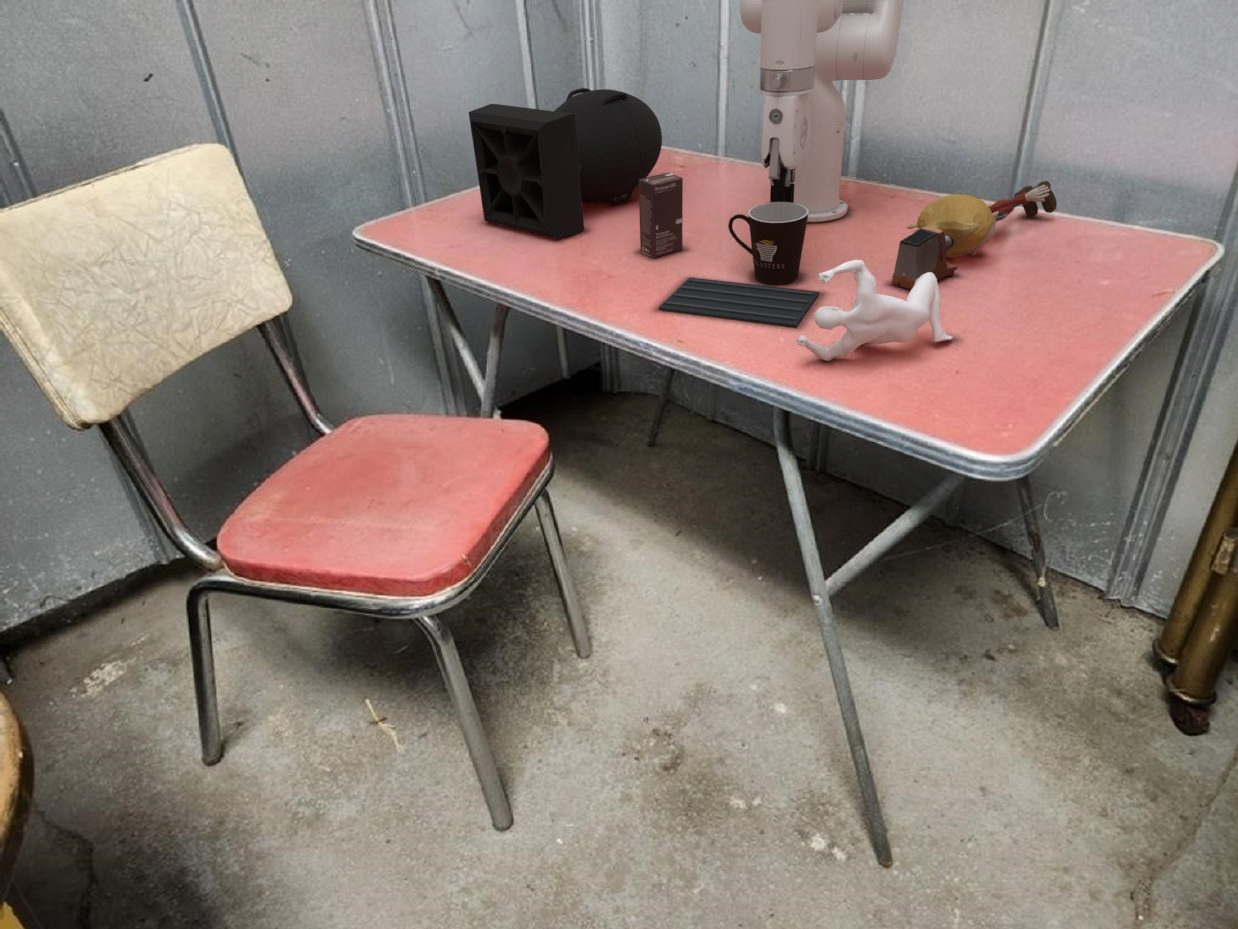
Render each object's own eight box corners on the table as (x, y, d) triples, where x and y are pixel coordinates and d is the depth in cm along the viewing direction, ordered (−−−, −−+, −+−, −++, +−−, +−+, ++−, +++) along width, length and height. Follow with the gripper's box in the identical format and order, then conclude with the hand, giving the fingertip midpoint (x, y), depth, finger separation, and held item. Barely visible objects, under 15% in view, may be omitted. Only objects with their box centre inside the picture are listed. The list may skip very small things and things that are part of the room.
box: (655, 259, 141) (652, 184, 135) (639, 252, 145) (636, 178, 138) (685, 250, 144) (683, 176, 138) (669, 243, 147) (667, 171, 141)
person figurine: (892, 237, 112) (823, 255, 99) (983, 278, 106) (922, 302, 93) (855, 328, 119) (786, 355, 106) (938, 371, 113) (876, 405, 100)
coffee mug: (817, 278, 130) (821, 212, 124) (771, 293, 127) (773, 227, 121) (768, 255, 139) (769, 192, 133) (724, 269, 135) (723, 206, 130)
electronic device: (957, 275, 128) (964, 224, 124) (915, 293, 123) (921, 241, 119) (932, 267, 131) (938, 218, 127) (890, 285, 127) (895, 234, 122)
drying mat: (689, 279, 133) (689, 275, 133) (819, 294, 125) (819, 289, 125) (658, 309, 124) (658, 305, 124) (796, 327, 116) (796, 322, 116)
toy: (984, 236, 155) (885, 282, 139) (970, 181, 153) (868, 221, 137) (1114, 202, 137) (1016, 252, 121) (1100, 139, 135) (999, 181, 119)
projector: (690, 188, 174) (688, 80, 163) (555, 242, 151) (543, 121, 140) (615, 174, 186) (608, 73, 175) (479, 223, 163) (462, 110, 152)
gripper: (798, 90, 115) (791, 228, 125) (826, 71, 126) (818, 198, 136) (744, 89, 118) (741, 224, 128) (776, 70, 129) (772, 195, 139)
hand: (781, 210), depth 132 cm, fingers closed
